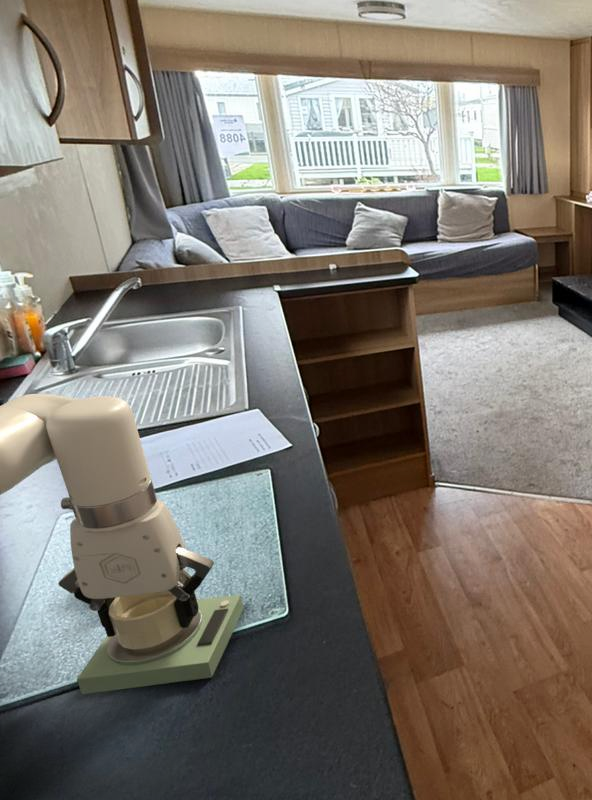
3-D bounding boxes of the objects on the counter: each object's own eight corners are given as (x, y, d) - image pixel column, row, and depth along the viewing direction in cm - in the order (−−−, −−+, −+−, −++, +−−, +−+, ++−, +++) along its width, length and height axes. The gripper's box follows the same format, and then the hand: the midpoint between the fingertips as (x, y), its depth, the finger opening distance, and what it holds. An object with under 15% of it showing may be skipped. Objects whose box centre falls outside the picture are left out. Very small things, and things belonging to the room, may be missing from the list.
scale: (81, 694, 76) (75, 677, 75) (131, 621, 87) (126, 605, 86) (212, 677, 78) (207, 660, 77) (244, 608, 89) (240, 592, 88)
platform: (90, 671, 76) (88, 667, 76) (131, 611, 85) (130, 607, 85) (183, 659, 78) (182, 655, 77) (214, 602, 87) (213, 598, 87)
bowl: (107, 657, 77) (95, 624, 75) (137, 613, 84) (126, 582, 82) (175, 648, 78) (165, 615, 77) (199, 606, 85) (190, 575, 83)
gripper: (8, 529, 69) (57, 656, 76) (185, 513, 72) (218, 637, 79) (50, 492, 76) (92, 612, 83) (210, 479, 79) (239, 595, 86)
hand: (153, 623), depth 81 cm, fingers closed on bowl, 7 cm apart
